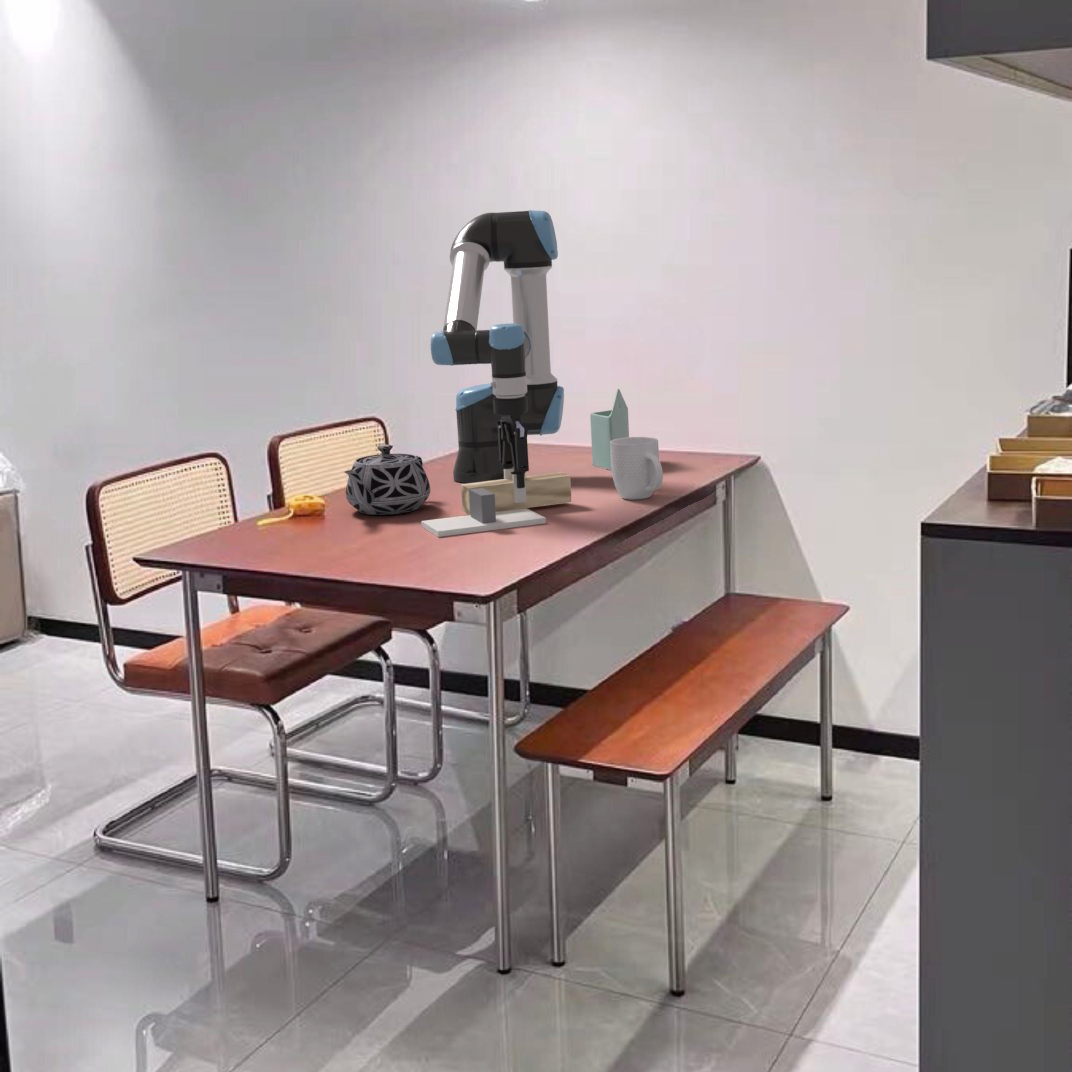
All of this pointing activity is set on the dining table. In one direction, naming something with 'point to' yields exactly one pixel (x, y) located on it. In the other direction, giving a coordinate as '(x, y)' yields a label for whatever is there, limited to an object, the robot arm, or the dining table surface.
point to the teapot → (387, 483)
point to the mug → (636, 466)
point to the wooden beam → (537, 491)
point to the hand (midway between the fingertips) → (515, 499)
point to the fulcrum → (482, 517)
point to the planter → (608, 430)
